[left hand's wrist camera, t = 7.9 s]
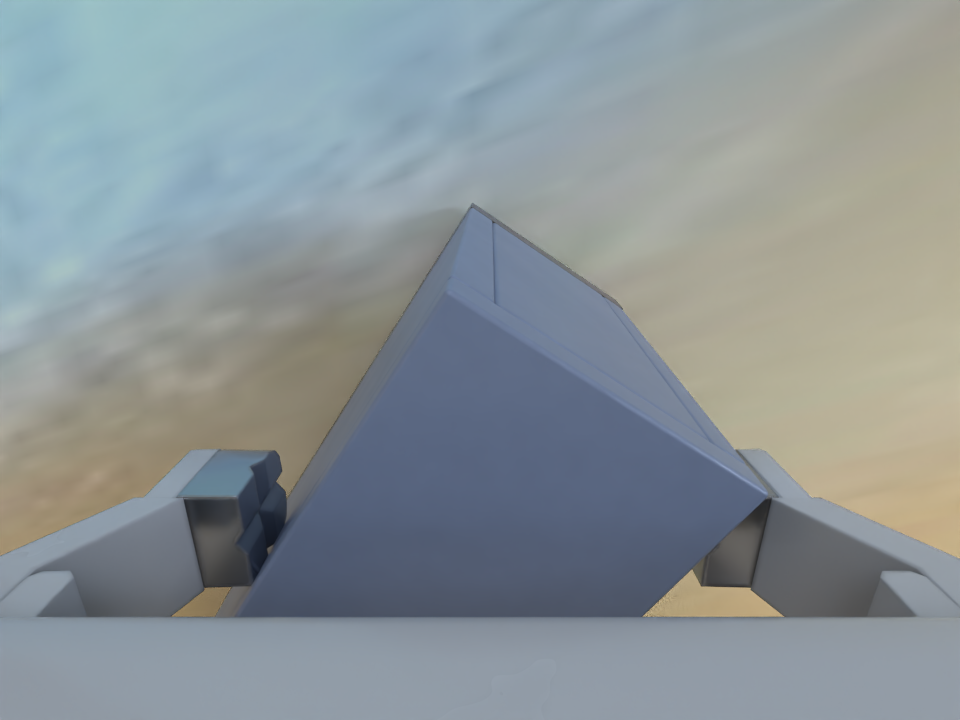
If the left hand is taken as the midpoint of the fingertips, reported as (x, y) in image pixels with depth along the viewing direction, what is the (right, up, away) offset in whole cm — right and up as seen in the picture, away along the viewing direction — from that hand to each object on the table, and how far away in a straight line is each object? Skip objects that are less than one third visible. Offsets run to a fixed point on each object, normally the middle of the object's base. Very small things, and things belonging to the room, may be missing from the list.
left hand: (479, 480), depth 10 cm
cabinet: (-3, -1, +9) cm, 9 cm away
